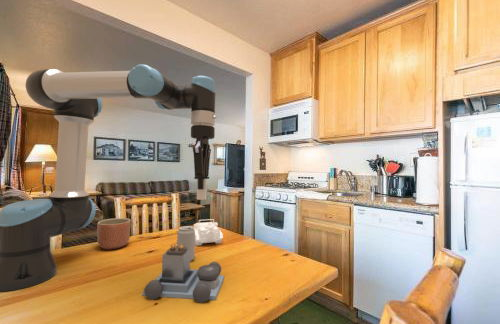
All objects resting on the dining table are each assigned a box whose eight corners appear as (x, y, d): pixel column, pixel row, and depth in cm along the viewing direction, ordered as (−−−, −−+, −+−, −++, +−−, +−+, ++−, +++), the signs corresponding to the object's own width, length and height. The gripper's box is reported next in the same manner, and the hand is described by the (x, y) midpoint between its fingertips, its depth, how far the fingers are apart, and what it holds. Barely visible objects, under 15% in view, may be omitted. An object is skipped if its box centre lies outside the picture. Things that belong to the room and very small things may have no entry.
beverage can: (185, 264, 84) (186, 230, 84) (172, 261, 87) (173, 228, 88) (198, 258, 90) (198, 226, 90) (185, 255, 93) (186, 224, 93)
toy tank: (215, 235, 121) (215, 215, 121) (225, 247, 103) (225, 225, 103) (191, 237, 117) (192, 217, 117) (197, 251, 98) (197, 227, 99)
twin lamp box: (161, 287, 67) (162, 248, 67) (170, 277, 73) (171, 241, 73) (182, 288, 66) (183, 249, 66) (189, 278, 72) (190, 242, 72)
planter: (91, 253, 94) (92, 225, 94) (102, 243, 106) (103, 218, 106) (125, 250, 97) (126, 224, 97) (133, 241, 109) (133, 217, 109)
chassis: (139, 298, 62) (139, 282, 62) (164, 273, 77) (164, 259, 78) (214, 303, 61) (214, 286, 61) (225, 276, 76) (225, 262, 76)
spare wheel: (195, 286, 66) (195, 273, 66) (201, 276, 72) (201, 264, 72) (216, 288, 65) (216, 274, 65) (220, 277, 71) (220, 265, 71)
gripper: (209, 122, 70) (207, 202, 70) (218, 129, 83) (217, 197, 83) (184, 122, 71) (182, 202, 70) (197, 129, 84) (196, 196, 83)
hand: (201, 199), depth 76 cm, fingers closed
